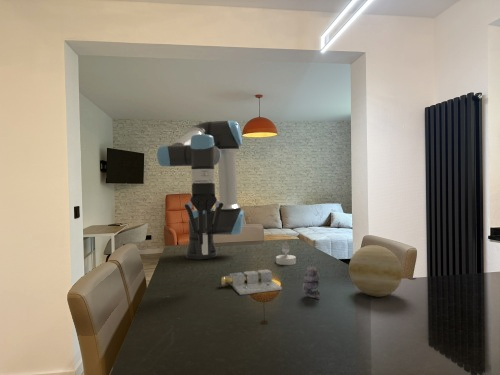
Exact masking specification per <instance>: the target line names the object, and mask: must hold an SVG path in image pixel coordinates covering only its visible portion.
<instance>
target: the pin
mask: <svg viewBox="0 0 500 375" xmlns="http://www.w3.org/2000/svg"><path fill="white" fill-rule="evenodd" d="M220 280H221V285H222V286H227V285H228V284H229V283H232V278H225V277H224V276H221V279H220ZM258 280H261V276H260V274H259V275H258ZM246 281H247V276H244V282H246ZM226 284H227V285H226Z"/></svg>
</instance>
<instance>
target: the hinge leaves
mask: <svg viewBox="0 0 500 375" xmlns="http://www.w3.org/2000/svg"><path fill="white" fill-rule="evenodd" d="M259 274H260V276H261V280H258V275H259ZM244 276H247V281H246V282H244ZM223 277H225V278H232V283H228V284H229V285H230V286H231V288H233V290H235V291H236V292H237V293H238V294H239V296H242V295H244V296H245V295H250V294H259V293H266V292H272V291H273V292H274V291H281V290H282V286H281V285H279V284H277V283H276V282H275V281H273V272H272V271H271V270H270V269H260V270H250V271H247V270H246V271H243V272H241V271H240V272H238V271H237V272H231V273H229V275H223Z"/></svg>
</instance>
